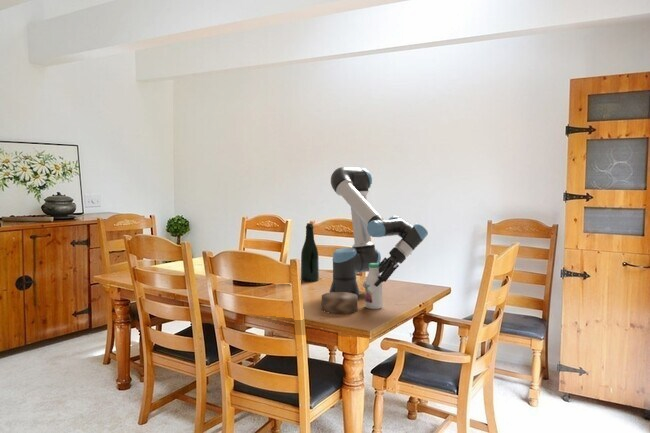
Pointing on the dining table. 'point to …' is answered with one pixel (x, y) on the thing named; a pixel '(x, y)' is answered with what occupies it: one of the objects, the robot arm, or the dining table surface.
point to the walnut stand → (339, 302)
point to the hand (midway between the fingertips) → (366, 288)
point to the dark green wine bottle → (309, 257)
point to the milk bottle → (375, 297)
